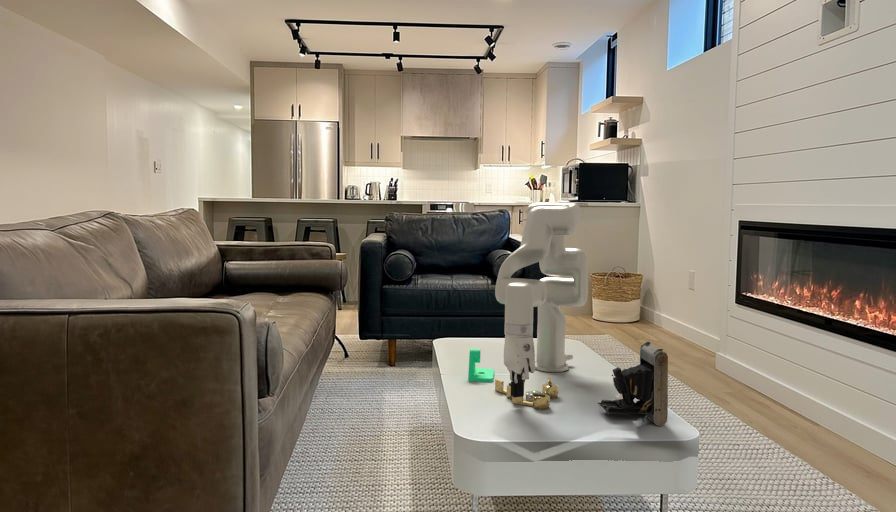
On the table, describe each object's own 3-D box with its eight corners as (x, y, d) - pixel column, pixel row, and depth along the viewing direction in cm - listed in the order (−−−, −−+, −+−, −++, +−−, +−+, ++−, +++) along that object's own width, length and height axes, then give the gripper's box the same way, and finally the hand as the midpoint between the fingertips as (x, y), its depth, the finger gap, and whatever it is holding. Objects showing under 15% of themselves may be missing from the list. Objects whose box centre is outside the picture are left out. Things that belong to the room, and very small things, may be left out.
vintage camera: (596, 415, 155) (596, 343, 153) (652, 413, 156) (653, 340, 155) (609, 430, 146) (609, 352, 144) (668, 426, 147) (669, 350, 145)
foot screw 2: (551, 406, 157) (551, 393, 157) (547, 410, 153) (547, 397, 153) (515, 400, 161) (515, 388, 161) (510, 405, 157) (510, 392, 157)
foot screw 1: (525, 397, 163) (525, 385, 163) (513, 400, 161) (514, 388, 161) (501, 388, 172) (502, 377, 171) (490, 391, 169) (490, 379, 169)
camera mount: (492, 387, 178) (493, 354, 178) (468, 386, 179) (468, 353, 178) (493, 376, 190) (494, 345, 190) (470, 375, 191) (471, 344, 190)
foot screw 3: (558, 399, 163) (558, 386, 163) (542, 398, 163) (542, 386, 163) (556, 388, 173) (556, 376, 173) (541, 387, 173) (541, 376, 173)
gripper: (545, 334, 149) (543, 403, 150) (518, 322, 163) (517, 386, 164) (518, 336, 146) (517, 406, 148) (494, 324, 160) (492, 389, 162)
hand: (517, 395), depth 156 cm, fingers closed
